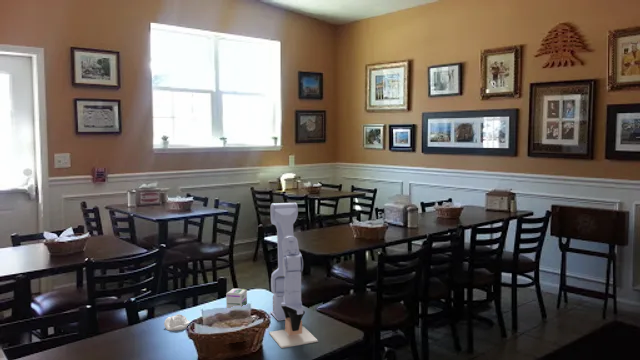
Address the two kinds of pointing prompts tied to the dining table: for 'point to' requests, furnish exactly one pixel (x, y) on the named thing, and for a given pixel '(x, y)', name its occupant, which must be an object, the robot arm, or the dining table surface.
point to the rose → (176, 323)
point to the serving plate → (292, 338)
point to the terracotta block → (289, 328)
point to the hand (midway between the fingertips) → (292, 327)
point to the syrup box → (236, 297)
